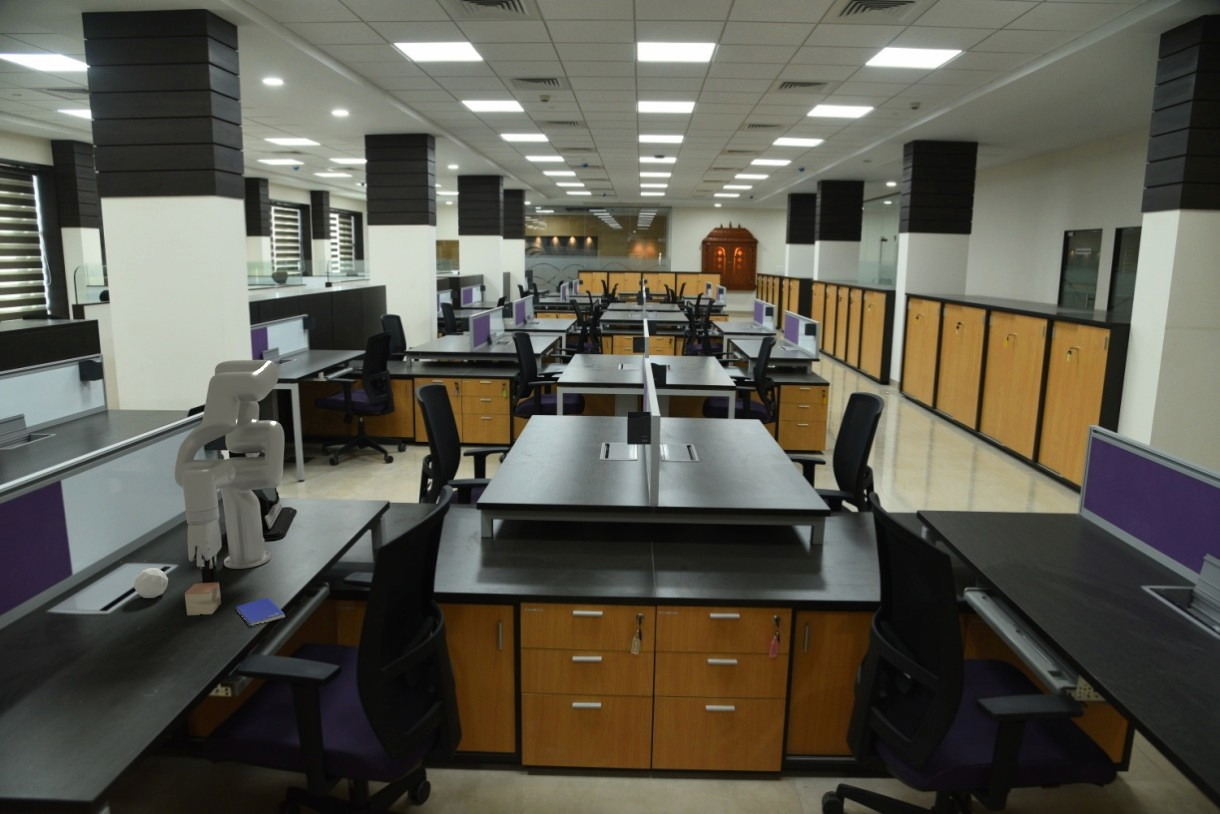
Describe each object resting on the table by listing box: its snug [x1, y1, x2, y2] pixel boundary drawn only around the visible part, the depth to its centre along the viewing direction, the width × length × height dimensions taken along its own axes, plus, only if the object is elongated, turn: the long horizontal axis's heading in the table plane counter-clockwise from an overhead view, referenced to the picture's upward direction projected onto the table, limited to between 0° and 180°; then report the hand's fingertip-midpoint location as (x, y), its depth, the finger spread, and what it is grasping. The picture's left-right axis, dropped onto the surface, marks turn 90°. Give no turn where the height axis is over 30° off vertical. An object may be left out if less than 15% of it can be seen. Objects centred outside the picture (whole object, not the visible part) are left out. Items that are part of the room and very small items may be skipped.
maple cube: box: [184, 581, 222, 616], centre depth 200 cm, size 6×6×6 cm
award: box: [221, 450, 298, 545], centre depth 259 cm, size 30×19×30 cm, turn 13°
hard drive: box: [235, 597, 286, 626], centre depth 198 cm, size 2×8×12 cm
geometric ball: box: [133, 567, 169, 599], centre depth 208 cm, size 8×8×8 cm
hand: (210, 581), depth 205 cm, fingers closed
